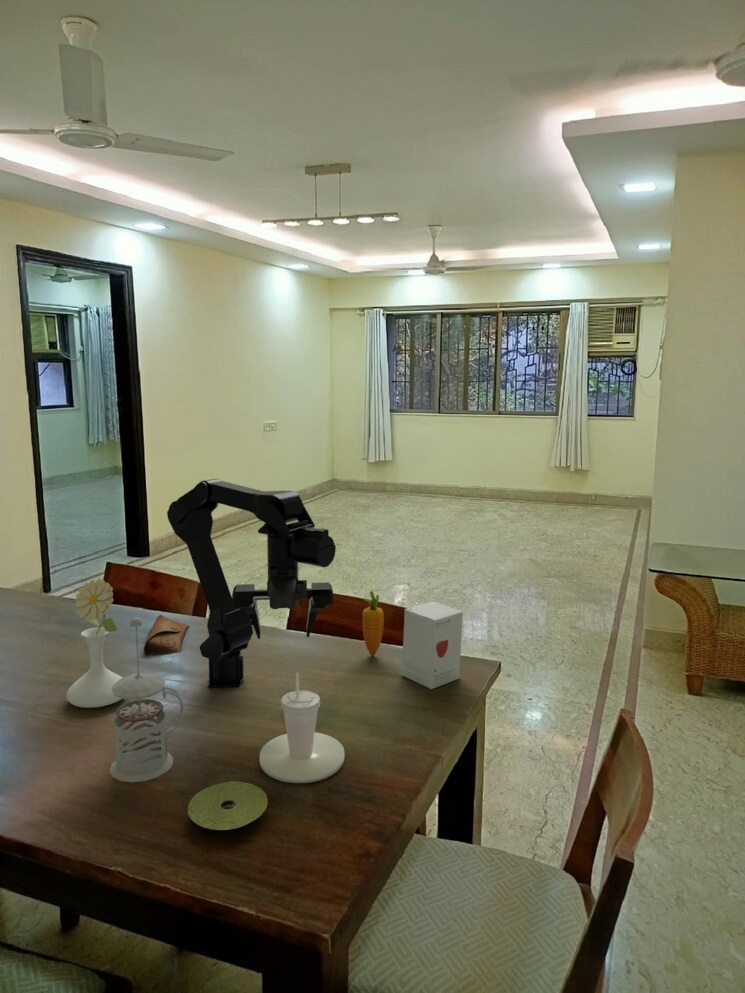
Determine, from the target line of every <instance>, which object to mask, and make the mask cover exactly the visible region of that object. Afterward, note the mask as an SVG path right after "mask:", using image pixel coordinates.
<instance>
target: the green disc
mask: <svg viewBox="0 0 745 993" xmlns="http://www.w3.org/2000/svg"><path fill="white" fill-rule="evenodd" d="M267 806H268V797H267V794H266V792H265V791H264V790H263V789H262V788H260V787H259V786H257V785H255V784H252V783H249V782H243V781H225V782H221V783H216V784H213V785H210V786H208V787H205V788H204V789H202V790H200V791H199V792H197V793H196V794H195V795H194V796H193V797H192V798H191V799H190V800H189V803H188V806H187V815H188V817H189V820H191V821H192V822H193V823H195V824H196V825H197V826H200V827H201V828H204V829H209V830H216V831H217V830H218V831H226V830H233V829H234V830H235V829H238V828H241V827H244V826H247V825H248V824H250V823H252V822H254V821H256V820H257V819H258V818H260V817H261V816H262V815H263V814H264V813H265V811H266V809H267Z"/></svg>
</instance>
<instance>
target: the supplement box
mask: <svg viewBox="0 0 745 993" xmlns="http://www.w3.org/2000/svg"><path fill="white" fill-rule="evenodd" d="M463 614H464V613H463V611H461V610H459V609H456V608H453V607H450V606H447V605H444V604H442V603H439V602H436V601H431V602H430V601H429V602H427V603H423V604H418V605H416V606H411V607H408V608H404V619H403V640H402V662H401V664H402V666H401V667H402V670H401V675H402V677H405V678H406V679H409V680H411V681H414V682H415V683H417V684H419V685H421V686H424V687H426V688H427V689H429V690H433V689H436V688H438V687H440V686H443V685H446V684H448V683H451V682H454V681H456V680H459V679H460V672H461V655H462V654H461V652H462V634H463V633H462V632H463Z"/></svg>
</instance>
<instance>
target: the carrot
mask: <svg viewBox="0 0 745 993" xmlns="http://www.w3.org/2000/svg"><path fill="white" fill-rule="evenodd" d="M369 594H370V595H369V596H370V598H371V599H370V598H366V597H365V598H364V599H363V601H364V602H366V603H367V604H368V605H369V606H368V607H365V608H364V609H363V611H362V613H361V614H362V632H363V640H364V644H365V646H366V649H367V651H368V654H369V655H370V656H371V657H374V656H375V655H376V653H377V652H378V650H379V648H380V646H381V642H382V638H383V634H384V625H385V624H384V623H385V614H384V610H383V609H382V608H381V607H378V603H379V600H380V595H378V594H376V596H375V593H374V591H373V590H371V591H369Z"/></svg>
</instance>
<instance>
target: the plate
mask: <svg viewBox="0 0 745 993" xmlns="http://www.w3.org/2000/svg"><path fill="white" fill-rule="evenodd" d="M345 755H346V754H345V749H344V746H343V744H342V743H341V742H339V740H337V739H336V738H334V737H333V736H330V735H328V734H325V733H320V732H316V731H315V734H314V742H313V750H312V755H311V756H310V757H308V758H306V759H294V758H292V757H291V756H290V753H289V746H288V738H287V733H285V734H281V735H278V736H276V737H274V738H272V739H270V740H269V741H268V742H266V743H265V744H264V745H263V746H262V748H261V750H260V752H259V765H260V768H261V770H262V771H263V773H265V774H266V775H267V776H268V777H270V778H273V779H275V780H277V781H280V782H284V783H291V784H308V783H309V784H310V783H314V782H315V783H316V782H318V781H322V780H325V779H328V778H329V777H332V776H333V775H335V774H337V772H339V770H341V768H342V767H343V765H344V763H345V757H346V756H345Z"/></svg>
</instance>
